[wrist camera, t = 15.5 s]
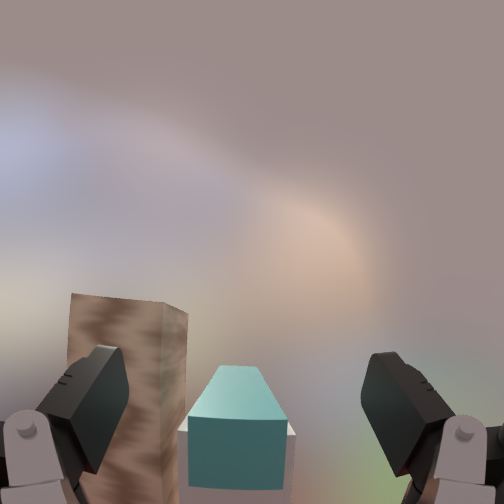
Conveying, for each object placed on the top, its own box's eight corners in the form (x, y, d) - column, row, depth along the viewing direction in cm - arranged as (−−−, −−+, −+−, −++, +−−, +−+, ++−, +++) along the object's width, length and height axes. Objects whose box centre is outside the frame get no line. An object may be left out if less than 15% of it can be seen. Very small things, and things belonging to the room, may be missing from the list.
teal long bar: (188, 485, 10) (187, 415, 11) (219, 395, 31) (220, 365, 32) (282, 489, 10) (288, 419, 11) (255, 396, 31) (256, 366, 32)
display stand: (91, 546, 18) (71, 293, 26) (124, 502, 31) (120, 307, 40) (170, 566, 18) (163, 302, 27) (187, 513, 32) (188, 313, 40)
